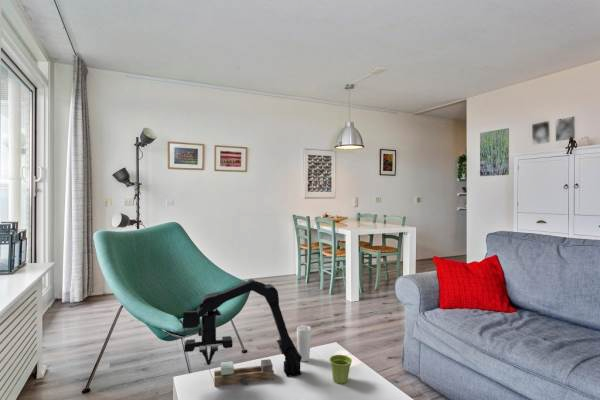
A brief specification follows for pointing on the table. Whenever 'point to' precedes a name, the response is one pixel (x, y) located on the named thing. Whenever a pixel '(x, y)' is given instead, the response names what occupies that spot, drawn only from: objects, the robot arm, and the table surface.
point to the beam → (246, 374)
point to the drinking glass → (304, 341)
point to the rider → (227, 368)
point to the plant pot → (340, 368)
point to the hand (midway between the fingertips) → (208, 364)
